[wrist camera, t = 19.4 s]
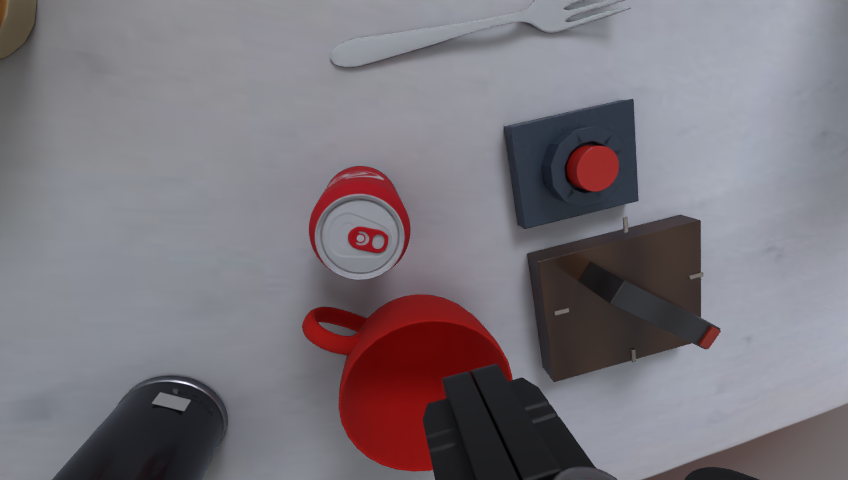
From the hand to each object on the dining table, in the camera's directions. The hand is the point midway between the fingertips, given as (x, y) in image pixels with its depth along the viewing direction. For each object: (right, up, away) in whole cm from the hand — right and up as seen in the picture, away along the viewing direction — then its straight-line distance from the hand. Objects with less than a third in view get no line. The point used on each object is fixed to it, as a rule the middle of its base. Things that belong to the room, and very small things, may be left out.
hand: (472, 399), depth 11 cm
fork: (+3, +21, +22) cm, 31 cm away
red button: (+12, +10, +23) cm, 28 cm away
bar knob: (+18, -1, +28) cm, 33 cm away
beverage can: (-7, +8, +24) cm, 26 cm away
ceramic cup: (-4, -4, +28) cm, 28 cm away
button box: (+12, +11, +26) cm, 31 cm away
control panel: (+18, -1, +30) cm, 35 cm away
